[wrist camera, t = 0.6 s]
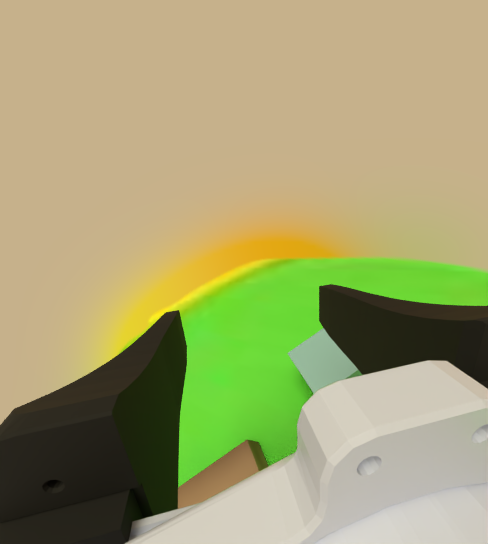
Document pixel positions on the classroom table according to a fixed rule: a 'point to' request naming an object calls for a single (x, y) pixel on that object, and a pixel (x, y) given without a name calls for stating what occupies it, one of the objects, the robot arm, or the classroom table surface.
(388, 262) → the classroom table surface
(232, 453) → the walnut base
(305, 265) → the classroom table surface
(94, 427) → the robot arm
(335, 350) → the teal block
